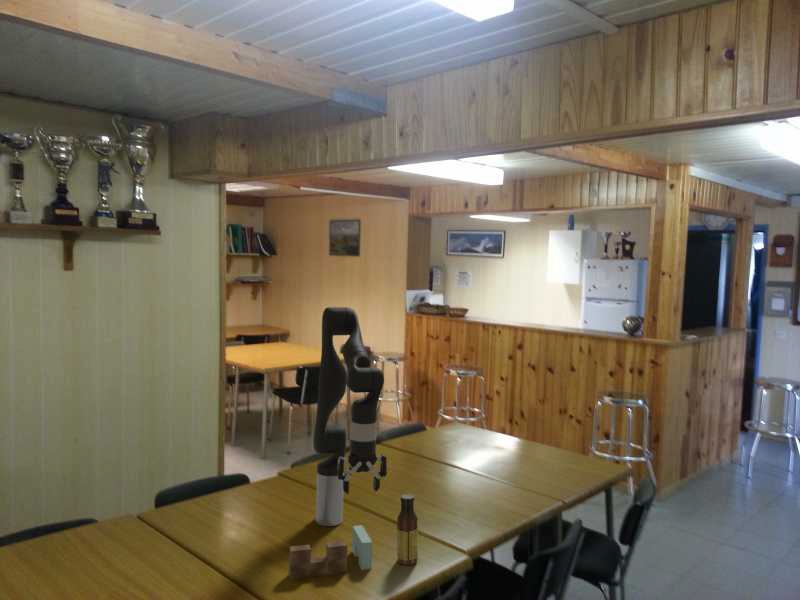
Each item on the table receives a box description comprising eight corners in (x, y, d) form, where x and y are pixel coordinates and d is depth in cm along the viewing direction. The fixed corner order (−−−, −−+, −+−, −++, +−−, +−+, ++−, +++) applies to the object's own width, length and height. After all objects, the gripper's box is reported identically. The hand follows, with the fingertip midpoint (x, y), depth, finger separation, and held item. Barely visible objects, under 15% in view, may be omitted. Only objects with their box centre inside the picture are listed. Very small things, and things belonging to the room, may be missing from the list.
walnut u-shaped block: (290, 579, 169) (291, 551, 168) (289, 574, 172) (289, 546, 171) (346, 572, 174) (347, 545, 173) (344, 567, 176) (345, 540, 176)
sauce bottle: (417, 556, 185) (419, 492, 184) (418, 566, 179) (420, 500, 178) (395, 556, 185) (397, 492, 184) (396, 566, 179) (398, 499, 178)
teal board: (352, 551, 187) (352, 526, 187) (361, 550, 188) (362, 525, 187) (361, 570, 175) (362, 543, 175) (371, 568, 176) (372, 541, 176)
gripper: (383, 431, 179) (381, 485, 181) (336, 433, 175) (334, 488, 176) (390, 439, 172) (388, 494, 173) (341, 441, 168) (339, 498, 169)
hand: (361, 491), depth 175 cm, fingers open, 8 cm apart
